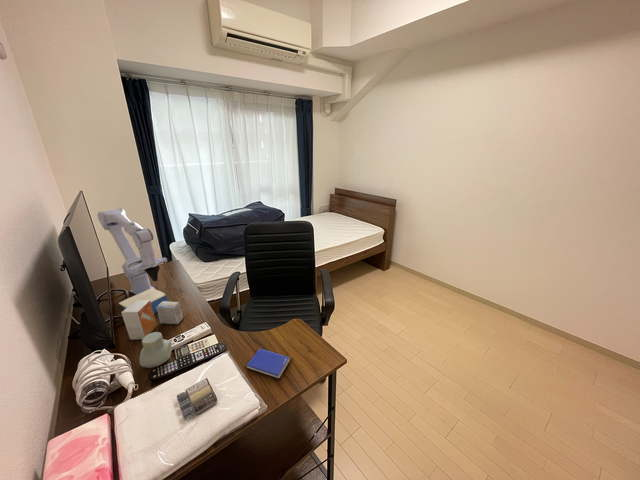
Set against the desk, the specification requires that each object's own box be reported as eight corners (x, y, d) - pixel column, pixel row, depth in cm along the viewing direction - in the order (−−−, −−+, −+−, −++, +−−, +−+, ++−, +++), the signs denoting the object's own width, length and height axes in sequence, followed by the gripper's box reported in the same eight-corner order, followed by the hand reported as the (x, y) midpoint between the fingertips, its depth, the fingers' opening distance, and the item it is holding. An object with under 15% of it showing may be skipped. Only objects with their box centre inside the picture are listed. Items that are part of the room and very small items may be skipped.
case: (138, 322, 109) (134, 311, 107) (124, 313, 114) (121, 303, 112) (168, 305, 120) (166, 295, 118) (155, 298, 126) (152, 288, 123)
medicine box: (183, 318, 111) (179, 301, 108) (177, 324, 107) (173, 308, 104) (167, 317, 112) (162, 300, 109) (160, 323, 108) (155, 307, 105)
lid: (132, 312, 106) (132, 310, 106) (118, 304, 112) (118, 302, 112) (166, 295, 118) (165, 294, 118) (152, 288, 123) (152, 287, 123)
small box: (146, 339, 99) (137, 312, 95) (129, 339, 99) (120, 312, 95) (157, 325, 107) (150, 299, 102) (142, 326, 107) (134, 300, 102)
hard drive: (289, 356, 89) (259, 347, 93) (278, 375, 82) (246, 364, 86) (290, 360, 90) (260, 351, 94) (278, 378, 83) (247, 368, 87)
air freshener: (168, 367, 87) (162, 345, 83) (140, 375, 84) (132, 352, 81) (173, 345, 96) (167, 324, 93) (148, 351, 94) (141, 330, 90)
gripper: (135, 262, 109) (143, 289, 114) (168, 251, 121) (174, 276, 126) (127, 259, 112) (135, 285, 117) (159, 248, 124) (166, 272, 129)
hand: (155, 280), depth 122 cm, fingers closed
